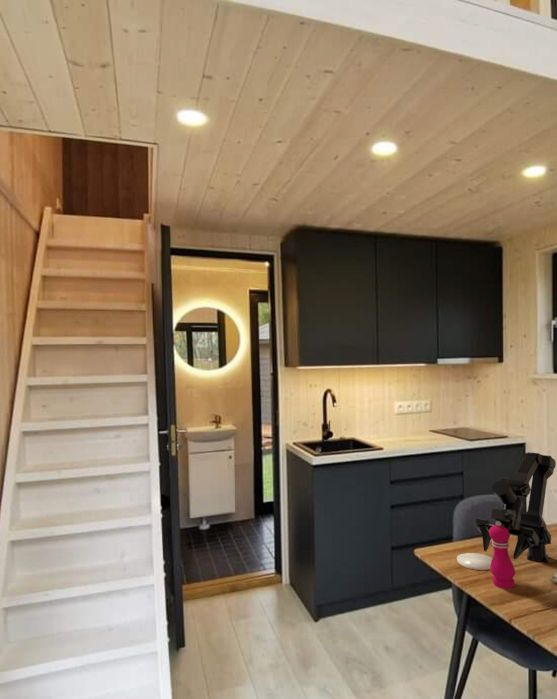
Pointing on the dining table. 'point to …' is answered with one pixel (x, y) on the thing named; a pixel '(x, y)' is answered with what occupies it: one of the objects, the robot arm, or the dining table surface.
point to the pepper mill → (501, 557)
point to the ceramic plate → (474, 561)
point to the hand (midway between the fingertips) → (499, 554)
